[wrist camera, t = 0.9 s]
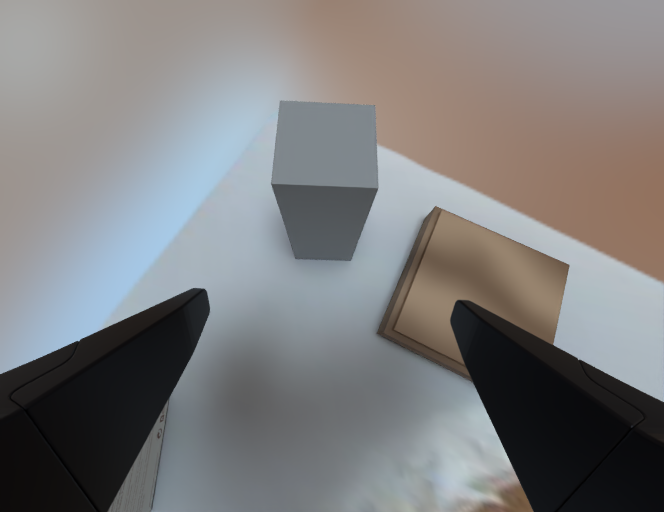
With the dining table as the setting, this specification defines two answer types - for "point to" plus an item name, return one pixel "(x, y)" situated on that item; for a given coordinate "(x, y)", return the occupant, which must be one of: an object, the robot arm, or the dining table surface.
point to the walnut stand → (470, 287)
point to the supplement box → (142, 473)
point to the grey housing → (325, 175)
